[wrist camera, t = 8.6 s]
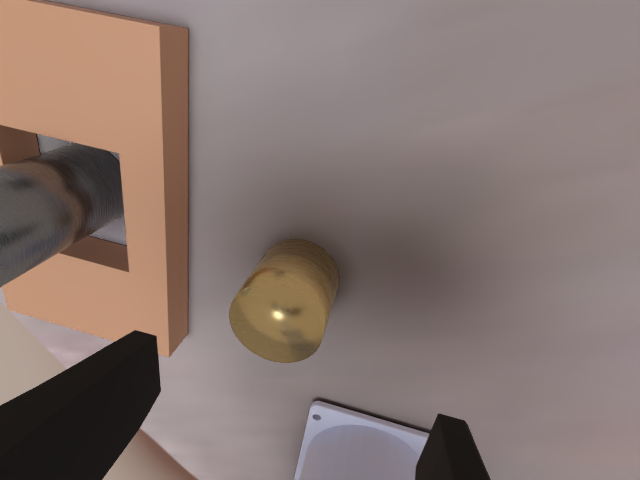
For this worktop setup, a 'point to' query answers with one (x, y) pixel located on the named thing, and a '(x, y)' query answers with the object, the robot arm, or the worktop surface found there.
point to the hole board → (113, 135)
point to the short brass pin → (286, 302)
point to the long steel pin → (54, 204)
